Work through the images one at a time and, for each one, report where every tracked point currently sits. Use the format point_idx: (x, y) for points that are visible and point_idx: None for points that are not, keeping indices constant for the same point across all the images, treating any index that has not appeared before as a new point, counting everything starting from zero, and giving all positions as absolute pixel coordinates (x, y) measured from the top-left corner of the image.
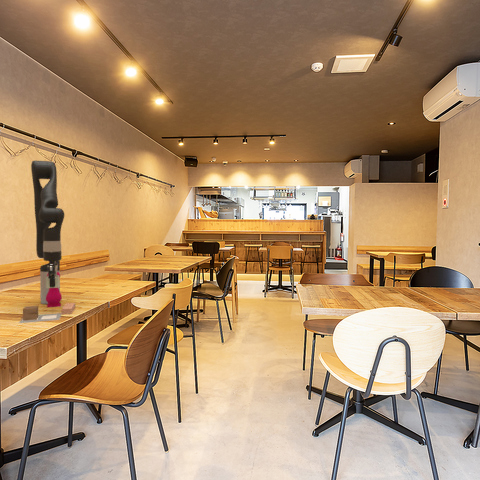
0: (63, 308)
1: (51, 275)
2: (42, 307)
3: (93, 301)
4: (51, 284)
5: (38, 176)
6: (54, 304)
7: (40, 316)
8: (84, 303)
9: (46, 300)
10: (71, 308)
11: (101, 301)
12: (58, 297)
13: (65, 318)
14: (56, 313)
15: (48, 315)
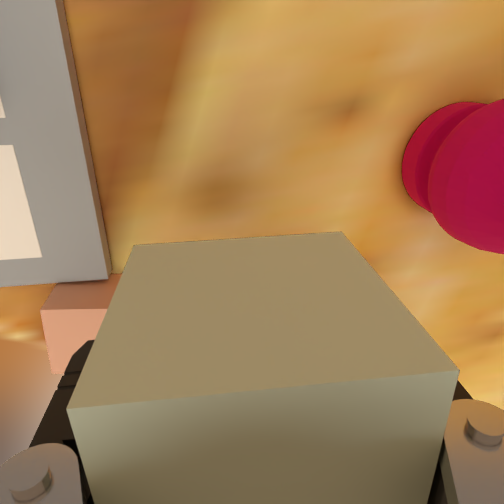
0: (61, 319)
1: (438, 462)
2: (483, 58)
3: (483, 389)
4: None
5: None
6: (421, 178)
7: (4, 125)
8: (452, 349)
9: (480, 109)
10: (63, 371)
11: None
12: (455, 233)
13: (16, 305)
14: (101, 241)
15: (34, 190)
